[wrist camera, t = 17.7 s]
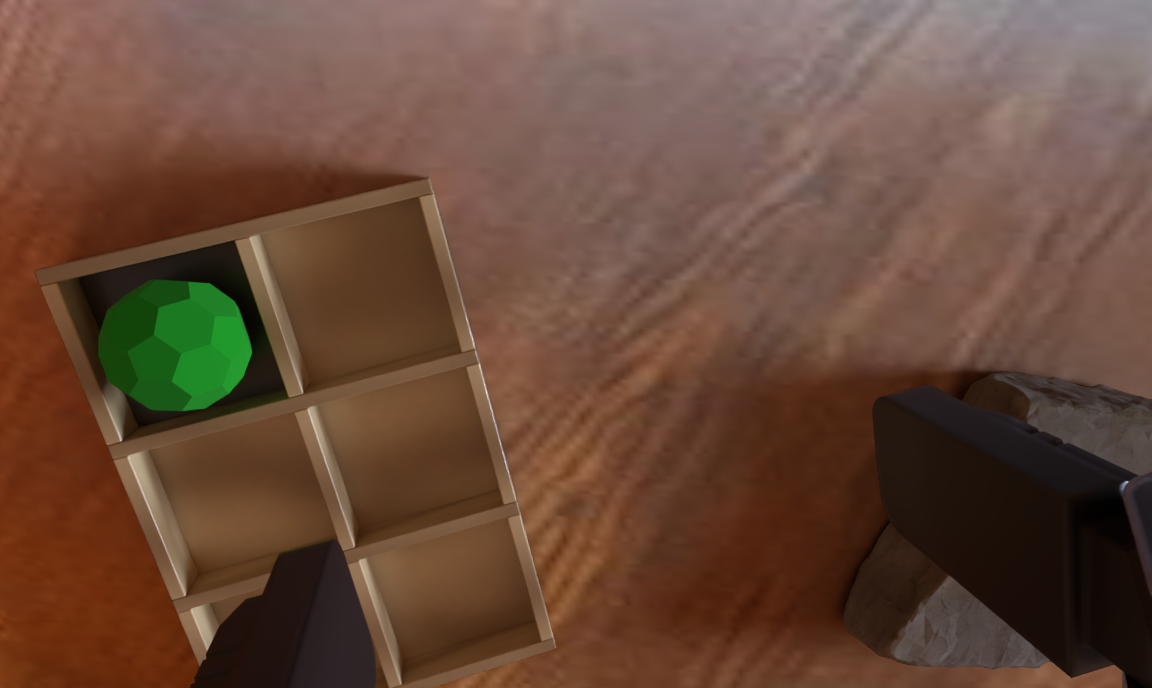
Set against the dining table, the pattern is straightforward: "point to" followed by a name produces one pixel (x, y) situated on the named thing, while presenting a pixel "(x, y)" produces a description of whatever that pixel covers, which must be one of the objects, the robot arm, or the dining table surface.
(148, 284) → the polyhedron
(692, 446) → the dining table surface
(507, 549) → the compartment tray
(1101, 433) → the marble piece
